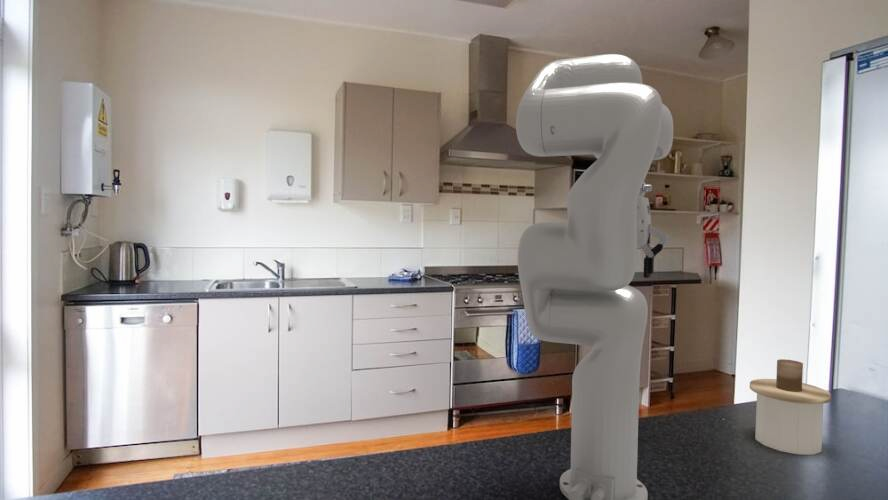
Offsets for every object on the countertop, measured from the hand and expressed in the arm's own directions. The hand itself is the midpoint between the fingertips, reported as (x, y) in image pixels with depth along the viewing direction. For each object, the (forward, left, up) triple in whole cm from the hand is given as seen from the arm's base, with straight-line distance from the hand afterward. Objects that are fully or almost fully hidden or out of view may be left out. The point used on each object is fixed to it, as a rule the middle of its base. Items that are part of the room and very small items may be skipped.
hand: (621, 276), depth 104 cm
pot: (+8, -29, -30) cm, 43 cm away
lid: (+8, -29, -21) cm, 36 cm away
